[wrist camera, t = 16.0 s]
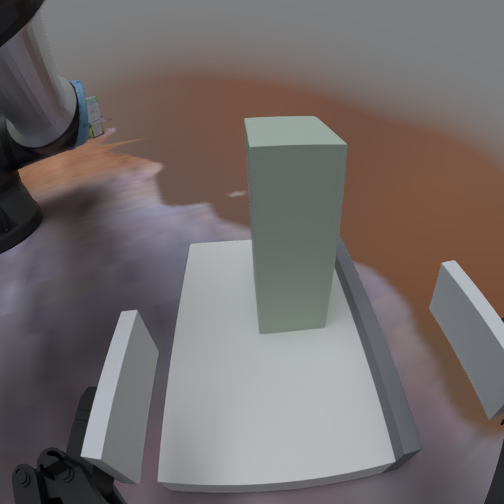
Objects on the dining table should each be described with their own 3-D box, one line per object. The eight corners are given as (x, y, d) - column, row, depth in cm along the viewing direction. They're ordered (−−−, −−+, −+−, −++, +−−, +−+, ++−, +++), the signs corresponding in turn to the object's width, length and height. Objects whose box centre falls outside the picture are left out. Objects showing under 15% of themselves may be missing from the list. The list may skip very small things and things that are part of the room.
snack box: (69, 137, 105) (62, 103, 96) (80, 133, 109) (74, 99, 100) (92, 139, 95) (84, 99, 86) (105, 133, 99) (98, 94, 90)
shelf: (194, 265, 35) (188, 231, 32) (332, 257, 35) (336, 222, 33) (171, 490, 16) (149, 476, 13) (400, 467, 16) (426, 447, 13)
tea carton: (259, 334, 23) (249, 147, 15) (253, 274, 29) (244, 118, 21) (325, 327, 23) (348, 144, 15) (308, 269, 29) (315, 116, 21)
